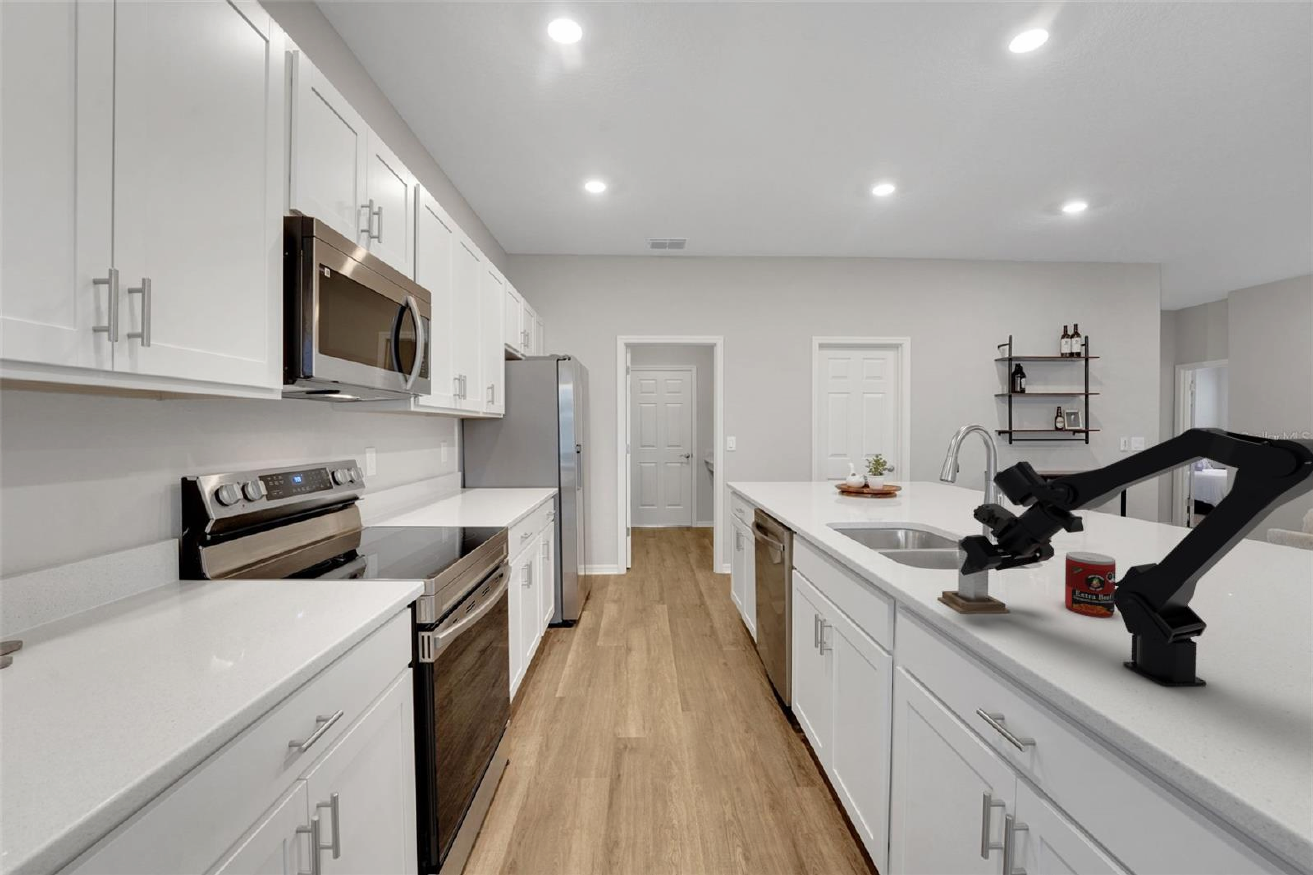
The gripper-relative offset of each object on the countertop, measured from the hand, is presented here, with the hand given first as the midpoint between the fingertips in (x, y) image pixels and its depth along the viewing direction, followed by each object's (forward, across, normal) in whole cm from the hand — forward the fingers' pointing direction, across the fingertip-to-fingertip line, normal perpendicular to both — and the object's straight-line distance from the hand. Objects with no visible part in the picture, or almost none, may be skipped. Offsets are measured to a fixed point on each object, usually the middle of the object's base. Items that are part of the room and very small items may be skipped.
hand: (979, 570), depth 104 cm
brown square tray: (+6, 0, +4) cm, 8 cm away
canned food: (0, -19, +12) cm, 23 cm away
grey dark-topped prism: (+6, 0, +4) cm, 7 cm away
